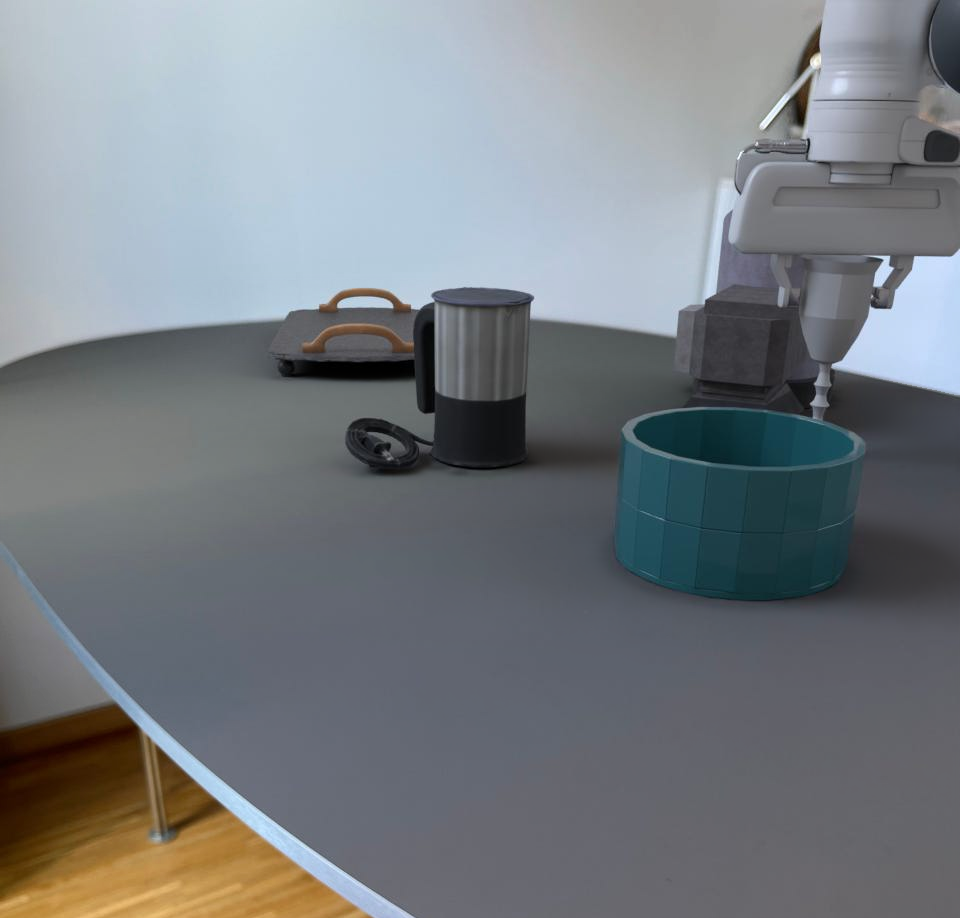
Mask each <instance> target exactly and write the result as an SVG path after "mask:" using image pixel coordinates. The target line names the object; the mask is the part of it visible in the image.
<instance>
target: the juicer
mask: <svg viewBox="0 0 960 918" xmlns="http://www.w3.org/2000/svg"><path fill="white" fill-rule="evenodd" d="M732 212H733V208H732V209H731V210H730V211H729V212H728V213H726V215H725V216H724V217H723V222H722V232H721V233H722V234H721V242H720V252H719V261H718V270H717V271H718V272H717V281H716V291H715V294H713V295H711V296H709V297H707V298H706V299H704V303H701V304H689V305H687V306H686V307H683V308H682V309H679V310H678V314H677V315H678V317H677V326H676V328H677V329H676V336H675V337H676V339H675V348H674V361H673V371H675V372H679V373H684V374H688V376H690V377H693V384H692V391H693V393H694V394H693V395H692V396H691V397H690V398H689V399H688V400H687V401H686V402H685V404H683V406H682V407H681V408H694V407H734V408H735V407H737V408H749V409H761V410H769V411H777V412H783V413H789V414H796V415H801V413H802V412H803V411H804V410H805V409H811V408H813V407H812V406H811V405H810V403H811V402H812V401H813V400H814V399H815V396H816V387H815V386H814V383H815V382H816V381H817V378H818V375H819V372H820V367H819V362H817V361H815V360H813V359H812V358H811V357H810V354H809V350H808V347H807V344H806V341H805V338H804V335H803V332H802V326H801V321H800V316H799V307H800V300H801V293H802V285H803V278H804V271H805V269H804V266H803V263H802V260H801V257H800V256H801V255H793V258H792V265H791V267H790V268H786V267H785V271H786V273H787V276H788V278H789V281H790V284H791V285H795V286H797V287H799V288H801V290H800V296H799V297H798V300H799V304H798V307H797V308H781V307H779V306H778V295H779V287H780V285H778V283H777V280H776V278H775V276H774V274H773V271H772V269H771V267H770V260H771V254H742V253H739V252H737V251H736V250H735V249H734V248H733V247H732V245H731V244H730V242H729V239H728V237H729V228H730V222H731V217H732ZM829 373H830V383H831V385H832V386H831V387H830V388H829V389H828V392H827V394H826V399H827V402H828V403H830V402H831V400H832V398H833V391H834V384H835V378H836V370H835V369H833V368H832V367H831V370H830V372H829Z"/></svg>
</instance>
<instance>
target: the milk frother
mask: <svg viewBox="0 0 960 918" xmlns="http://www.w3.org/2000/svg"><path fill="white" fill-rule="evenodd" d="M430 297H431V298H432V299H433V301H431V302H429V303H426V304H424V305H423V306H421V308H420V309H418V310H419V311H418V313H417V315H416V318H415V321H414V327H413V340H414V360H413V362H414V376H415V377H414V378H415V395H416V407H417V409H418V411H419V412H420V413H422V414H425V415H427V414H434V422H433V423H434V424H433V425H434V427H433V428H434V429H433V439H432V440H433V441H429V440H426V439H423V438H422V437H420V436H418V435H416V434H415V433H413V432H411V431H409V430H408V429H406V428H404V427H402V426H400V425H398V424H394V423H393V422H391V421H388V420H385V419H382V418H376V417H360V418H357V419H355V420H353V421H352V422H351V423H350V424H349V425H348V427H347V429H346V431H345V436H344V443H345V446H346V448H347V451H348V452H349V453H350V454H351V456H353V457H354V458H355V459H357V460H358V461H359V462H362V463H363V464H365V465H368V467H369V468H371V469H375V468H380V469H385V470H395V469H397V470H398V469H404V468H408V467H411V466H412V465H415V464H416V463H417V461H418V460H419V456H420V447H419V445H418V443H419V444H422V445H426V446H430V447H431V450H430V454H431V456H432V457H433V458H434V459H436V460H438V461H440V462H443V463H445V464H448V465H452V466H458V467H468V468H482V469H483V468H484V469H485V468H498V467H507V466H511V465H516V464H518V463H520V462H523V461H524V460H526V458H527V457H528V456H529V455H528V453H529V452H528V449H527V448H526V446H527V445H526V443H527V441H526V440H527V438H526V434H527V433H526V429H527V428H526V422H527V421H526V420H527V419H526V418H527V416H526V414H527V413H526V412H527V388H528V376H529V375H528V372H529V371H528V370H529V349H530V331H531V330H530V329H531V309H532V308H531V307H532V302H533V301H534V300H535V296H534V295H532V293H529V292H524V291H520V290H514V289H509V288H508V289H506V288H500V287H499V288H498V287H494V288H493V287H483V286H482V287H480V286H479V287H472V286H469V287H467V286H463V287H457V288H456V287H455V288H444V289H439V290H436V291H434V292H432V293H430ZM369 433H376V434H382V435H386V436H389V437H391V438H393V439H395V440H396V441H398V442H399V443H400V444H401V445H402V446H403V447H404V449H405V452H404V453H403V454H400V455H397V456H392V455H391V452H390V451H391V448H392V443H391V442H390V441H384V440H382V439H381V438H380V437H378V436H376V435H373V434H369Z"/></svg>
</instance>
